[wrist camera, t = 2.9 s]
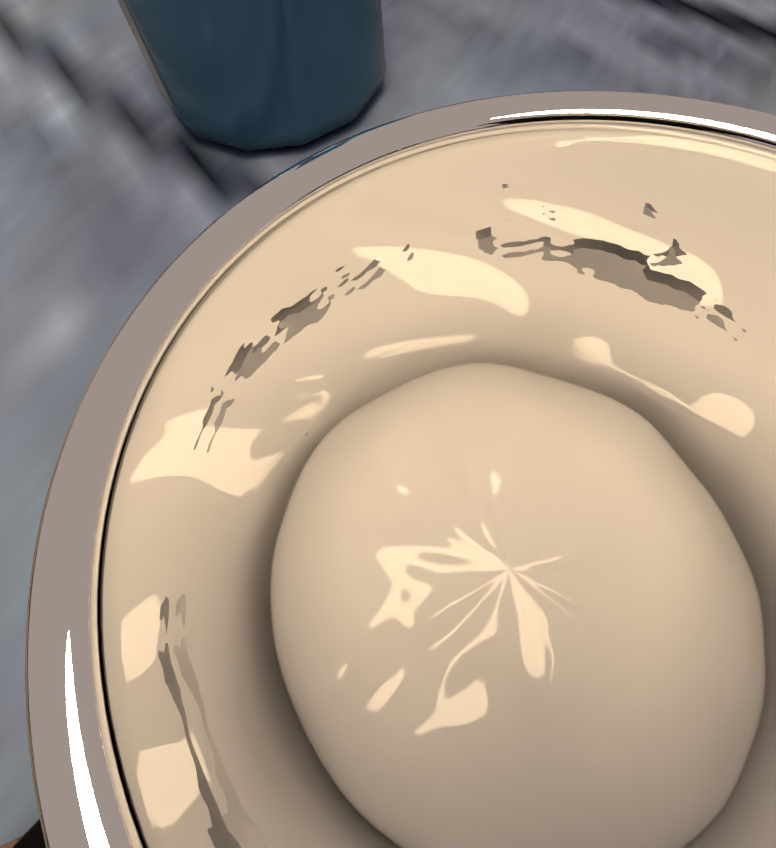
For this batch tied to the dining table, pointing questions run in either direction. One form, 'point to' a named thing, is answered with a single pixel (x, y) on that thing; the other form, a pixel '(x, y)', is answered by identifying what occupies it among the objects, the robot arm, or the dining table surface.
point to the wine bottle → (261, 65)
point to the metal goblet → (433, 502)
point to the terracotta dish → (11, 843)
